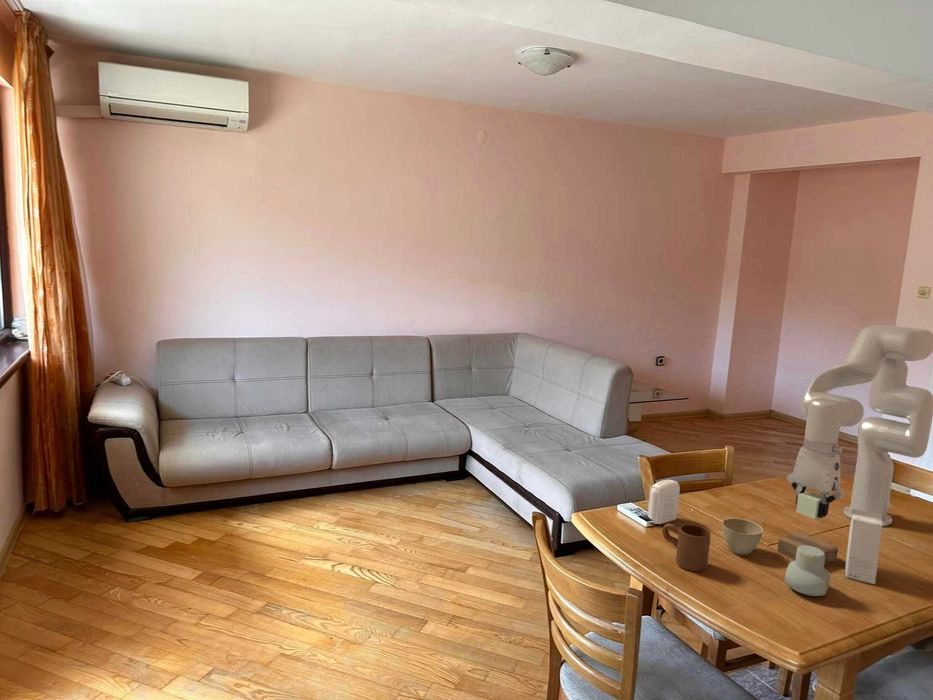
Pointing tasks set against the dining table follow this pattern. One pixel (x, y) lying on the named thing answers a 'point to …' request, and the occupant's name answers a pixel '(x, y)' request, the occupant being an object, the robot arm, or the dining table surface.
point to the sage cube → (808, 504)
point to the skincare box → (863, 546)
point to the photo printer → (663, 501)
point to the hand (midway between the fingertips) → (810, 512)
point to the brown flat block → (792, 542)
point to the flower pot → (741, 535)
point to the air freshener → (808, 572)
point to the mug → (690, 545)
